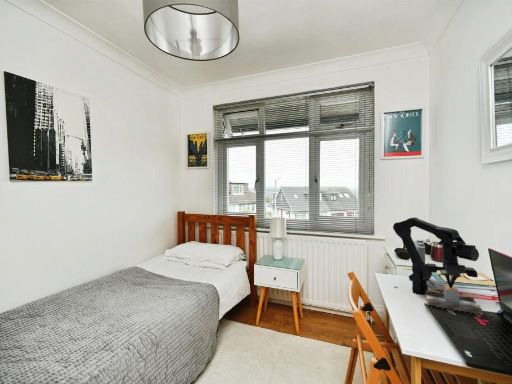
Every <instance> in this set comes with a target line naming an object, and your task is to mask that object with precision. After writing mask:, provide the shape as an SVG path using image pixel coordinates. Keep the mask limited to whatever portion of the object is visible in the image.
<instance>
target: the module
mask: <svg viewBox="0 0 512 384" xmlns="http://www.w3.org/2000/svg"><path fill="white" fill-rule="evenodd" d="M442 293H443V297H444V299H445V302H446V303H451V304H458V305H459V295H460V291H459V289H458V288H457V286H455V285H453V287H452V288H450V287H449V284H442Z"/></svg>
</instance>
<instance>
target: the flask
mask: <svg viewBox="0 0 512 384" xmlns="http://www.w3.org/2000/svg"><path fill="white" fill-rule="evenodd" d="M413 242H414V244H415V246H416V249H417V251H418V253H419V255H420V257H421V259H422V261H423V262H424V263H425V264H426V245H425V244H424V240H423V239H416V240H413Z"/></svg>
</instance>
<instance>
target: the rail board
mask: <svg viewBox="0 0 512 384" xmlns="http://www.w3.org/2000/svg"><path fill="white" fill-rule="evenodd" d="M424 298H425V301H426V306H427V307H429V306H428V305H431V306H430V307H432V306H436V307H435V308H438V307H442V308H441V309H443V308H448V309H447V310H449V309H453V310H452V311H455V310H459V311H458V312H460V311H465V312H464V313H466V312H470V313H469V314H472V313H474V315H478V314H480V315H479V316H484V312H483V310H482V307H480V306H479V304H478V303H477V302H476V301H475V297H473V296H467V295H463V294H462V295H460V294H459V305H458V304H451V303H446V302H445V299H444V297H443V291H442V292H440V291H433V290H429V289H428V290H426V293H425V295H424Z"/></svg>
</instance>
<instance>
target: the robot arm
mask: <svg viewBox="0 0 512 384" xmlns="http://www.w3.org/2000/svg"><path fill="white" fill-rule="evenodd" d="M413 227H415V228H418V229H421V230H422V231H426V232H427V233H430V234H433V235H434V236H435V237H436V238H437V239H438V240H440V241H439V242H437V243H436V244H437V245H438V246H441V251H442V256H441V257H442V260H441V261H442V266H437V265H436V264H435V263H429V262H427V263H426V262H425V263H424V262H423V261H422V259H421V257H420V255H419V253H418V251H417V249H416V246H415V244H414V240H413V238H412V228H413ZM392 229H393V231H394V232H395V234H396V235H397V236H398V237H399V238H400V239H401V241H402V242H403V243H402V244H403V245H404V248H405V250H406V252H407V255H408V257H409V259H410V261H411V263H412V265H411V266H412V267H411V270H412V271H411V272H412V273H411V274H410V275H408V279H409V281H411V282H412V283H411V284H412V287H411V289H412V294H418V295H423V296H425V293H426V290H428V291H429V284H428V283H427V282H429V281H430V278H432V276H433V274H435V273H437V272H438V271H440V274H441V276H444V278H445V279H446V282H447V285H449V287H450V288H452V287H453V286H454V285H455V282H456V280H457V279H458V278H461V277H462V274H466V275H467V277H470V278H478V272H477V270H476V269H475V268H473V267H469V266H465V265H463V264H460V263H459V261H458V260H459V259H462V260H468V261H473V262H476V261H478V259H479V257H480V252H479V250H478V248H477V247H476V245H473V244H466V242H465V240H464V239H463V238H462V237H461V236H460V232H459V231H458V230H456V229H455V228H449V227H443V226H439V225H436V224H433V223H430V222H427V221H425V220H423V219H420V218H418V217H409V218H407V219H406V220H405V219H404V220H403V221H399V222H394V224H393V226H392ZM458 258H459V259H458Z"/></svg>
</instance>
